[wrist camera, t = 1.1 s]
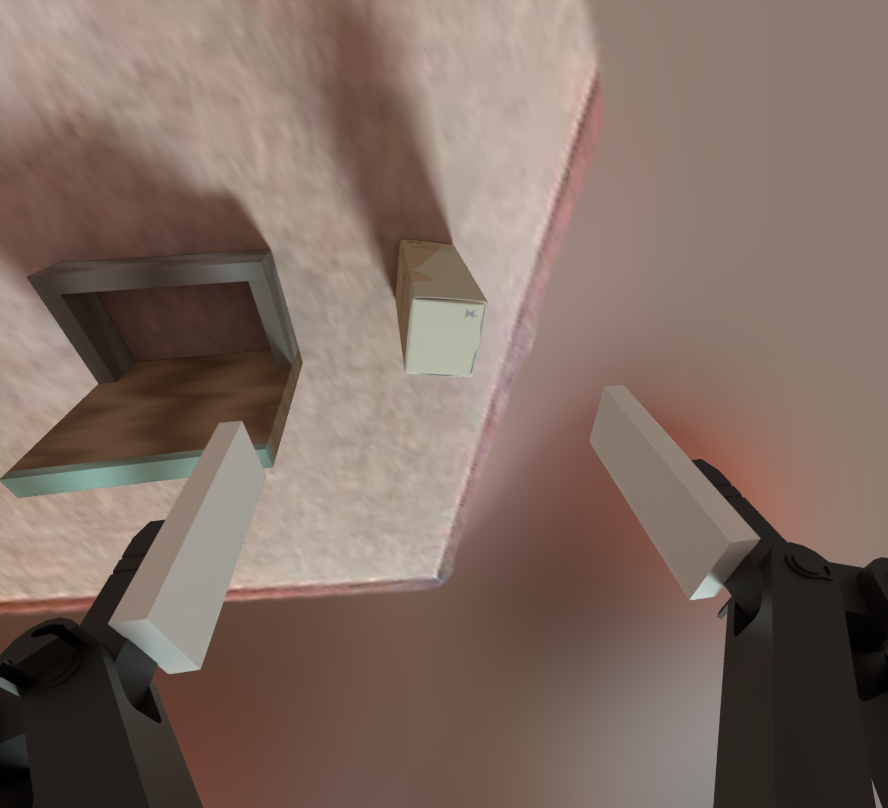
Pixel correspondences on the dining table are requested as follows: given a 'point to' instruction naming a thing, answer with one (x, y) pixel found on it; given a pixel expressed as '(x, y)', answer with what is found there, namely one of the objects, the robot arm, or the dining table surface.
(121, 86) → the dining table surface
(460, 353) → the box
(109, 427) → the cleat board
